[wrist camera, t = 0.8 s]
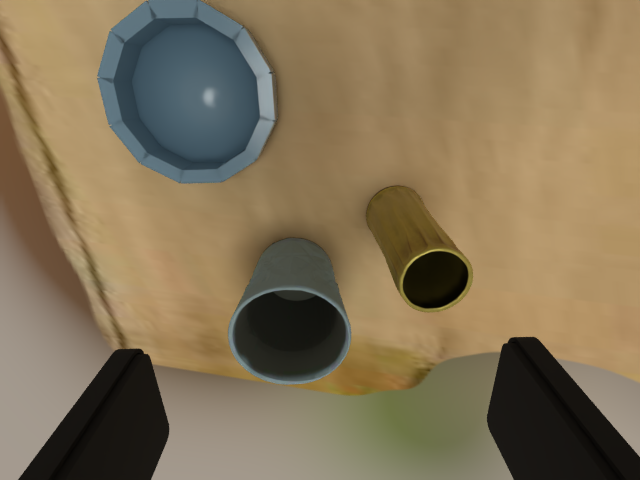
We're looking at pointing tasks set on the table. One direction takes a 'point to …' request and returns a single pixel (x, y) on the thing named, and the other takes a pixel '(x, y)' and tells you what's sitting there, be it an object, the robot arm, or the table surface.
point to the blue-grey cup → (291, 316)
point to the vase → (418, 251)
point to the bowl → (188, 90)
